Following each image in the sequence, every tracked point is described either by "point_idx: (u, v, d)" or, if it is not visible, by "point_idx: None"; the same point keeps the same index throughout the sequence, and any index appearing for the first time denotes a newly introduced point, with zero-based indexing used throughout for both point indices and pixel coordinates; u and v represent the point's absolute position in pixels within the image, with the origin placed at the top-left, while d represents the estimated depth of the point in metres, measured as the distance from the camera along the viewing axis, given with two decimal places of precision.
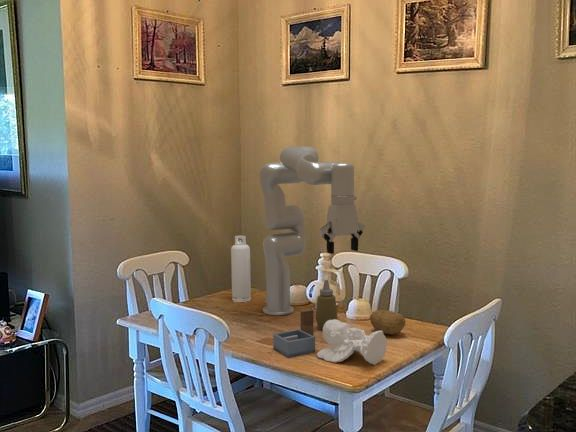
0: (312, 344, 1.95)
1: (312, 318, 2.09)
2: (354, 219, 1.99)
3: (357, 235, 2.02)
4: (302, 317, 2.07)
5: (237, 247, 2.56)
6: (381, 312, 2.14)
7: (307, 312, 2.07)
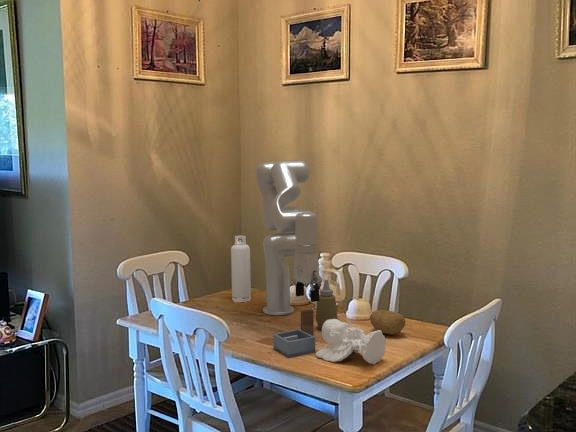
0: (312, 344, 1.95)
1: (312, 318, 2.09)
2: None
3: None
4: (302, 317, 2.07)
5: (237, 247, 2.56)
6: (381, 312, 2.14)
7: (307, 312, 2.07)
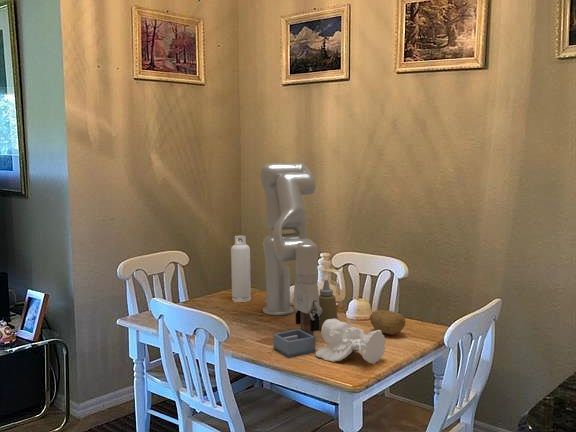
0: (312, 344, 1.95)
1: None
2: None
3: None
4: (302, 317, 2.07)
5: (237, 247, 2.56)
6: (381, 312, 2.14)
7: None
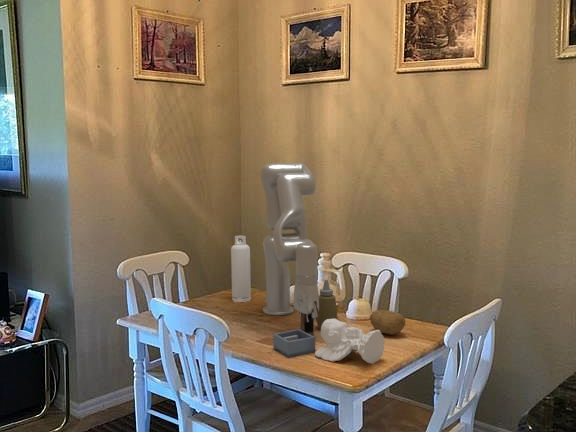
0: (312, 344, 1.95)
1: None
2: None
3: None
4: (302, 317, 2.07)
5: (237, 247, 2.56)
6: (381, 312, 2.14)
7: None
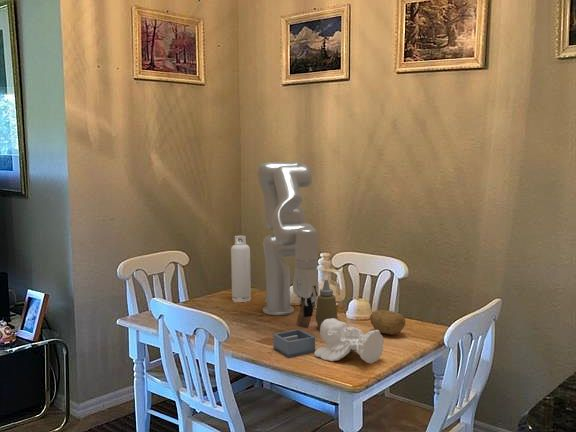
0: (312, 344, 1.95)
1: (312, 308, 2.09)
2: None
3: None
4: (303, 304, 2.08)
5: (237, 247, 2.56)
6: (381, 312, 2.14)
7: None
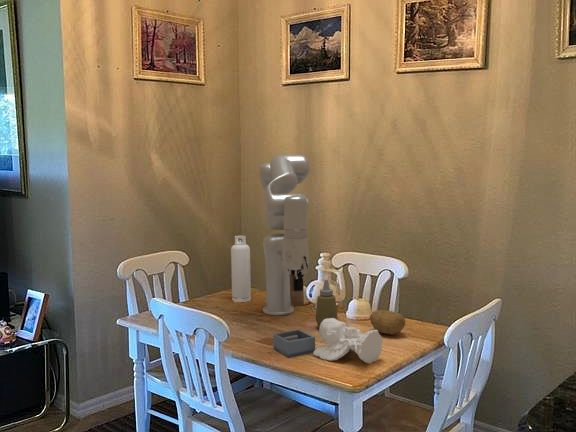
0: (312, 344, 1.95)
1: None
2: None
3: None
4: (291, 282, 1.96)
5: (237, 247, 2.56)
6: (381, 312, 2.14)
7: None
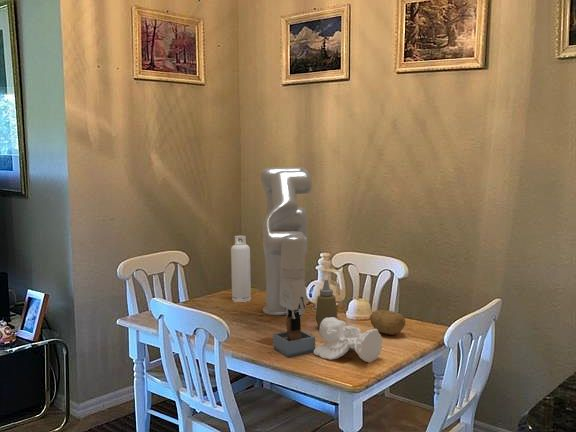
0: (312, 344, 1.95)
1: None
2: None
3: None
4: (288, 325, 1.95)
5: (237, 247, 2.56)
6: (381, 312, 2.14)
7: None
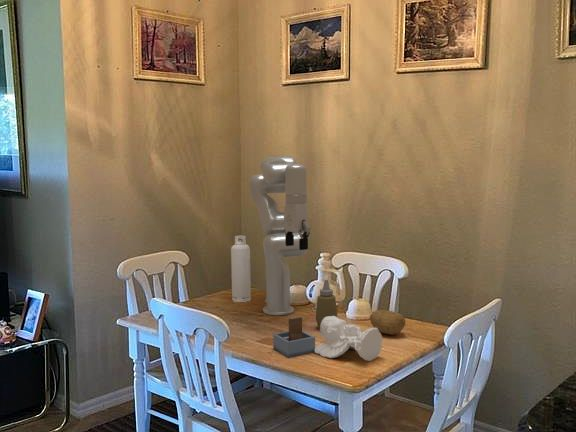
0: (312, 344, 1.95)
1: (301, 326, 1.97)
2: None
3: None
4: (290, 325, 1.95)
5: (237, 247, 2.56)
6: (381, 312, 2.14)
7: (295, 319, 1.95)
